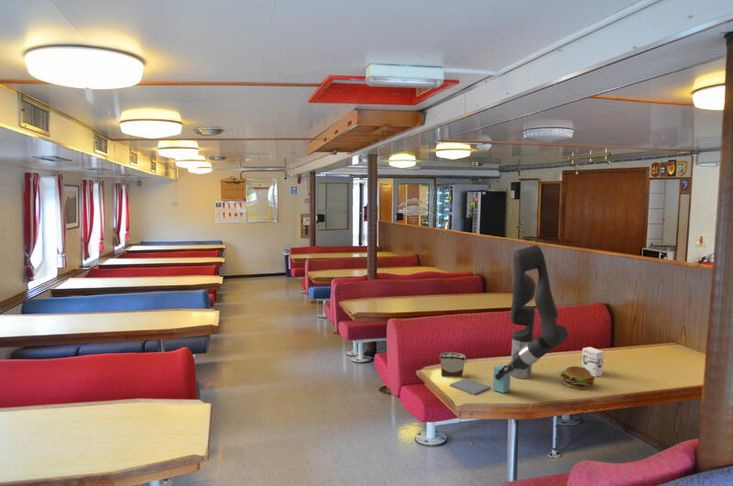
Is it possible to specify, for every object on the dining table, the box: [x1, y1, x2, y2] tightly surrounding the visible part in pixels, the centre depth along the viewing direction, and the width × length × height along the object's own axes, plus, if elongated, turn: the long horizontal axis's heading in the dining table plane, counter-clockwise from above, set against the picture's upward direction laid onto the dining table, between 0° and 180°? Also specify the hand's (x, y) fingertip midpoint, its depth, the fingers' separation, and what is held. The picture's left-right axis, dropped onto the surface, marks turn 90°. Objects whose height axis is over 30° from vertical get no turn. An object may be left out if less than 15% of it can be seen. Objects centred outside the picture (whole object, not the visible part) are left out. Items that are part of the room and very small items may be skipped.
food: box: [559, 365, 596, 390], centre depth 228 cm, size 14×14×8 cm
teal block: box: [492, 364, 511, 394], centre depth 218 cm, size 5×5×10 cm
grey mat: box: [449, 377, 492, 396], centre depth 221 cm, size 12×13×1 cm
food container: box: [438, 351, 467, 379], centre depth 236 cm, size 12×6×10 cm, turn 84°
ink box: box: [580, 346, 604, 378], centre depth 243 cm, size 9×5×12 cm, turn 26°
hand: (500, 376), depth 218 cm, fingers closed on teal block, 5 cm apart
